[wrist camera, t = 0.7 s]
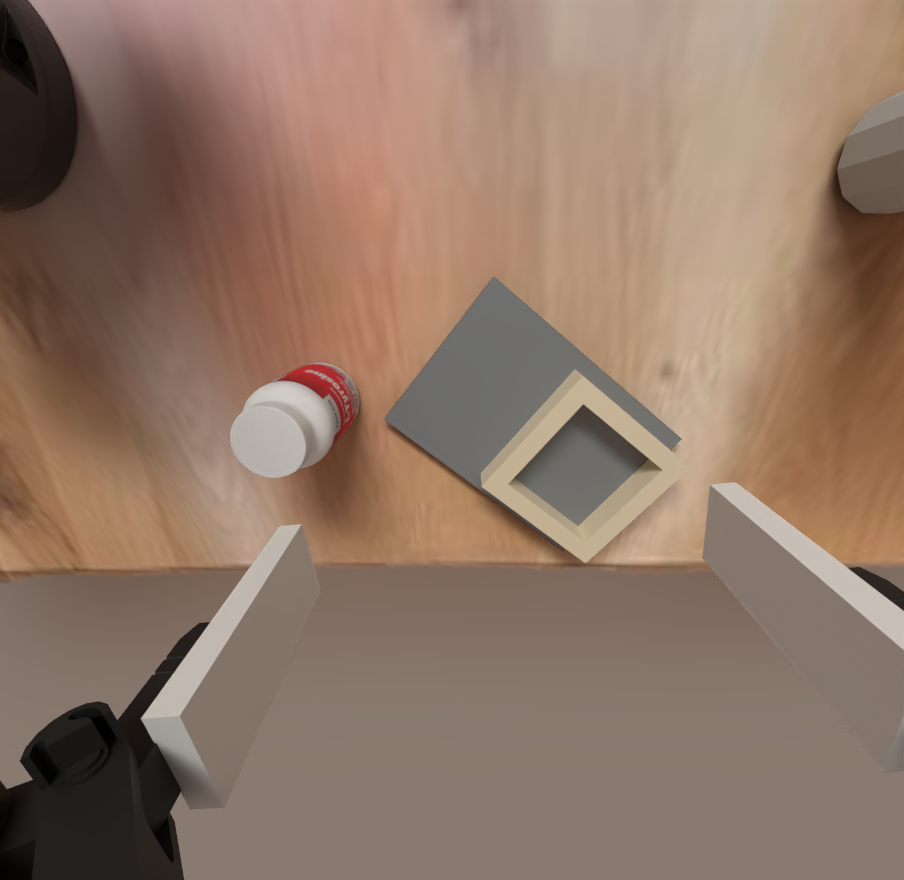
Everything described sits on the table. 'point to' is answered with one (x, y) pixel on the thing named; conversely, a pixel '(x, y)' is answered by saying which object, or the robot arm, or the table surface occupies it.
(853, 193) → the water bottle
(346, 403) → the pill bottle
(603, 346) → the table surface
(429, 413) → the socket board
